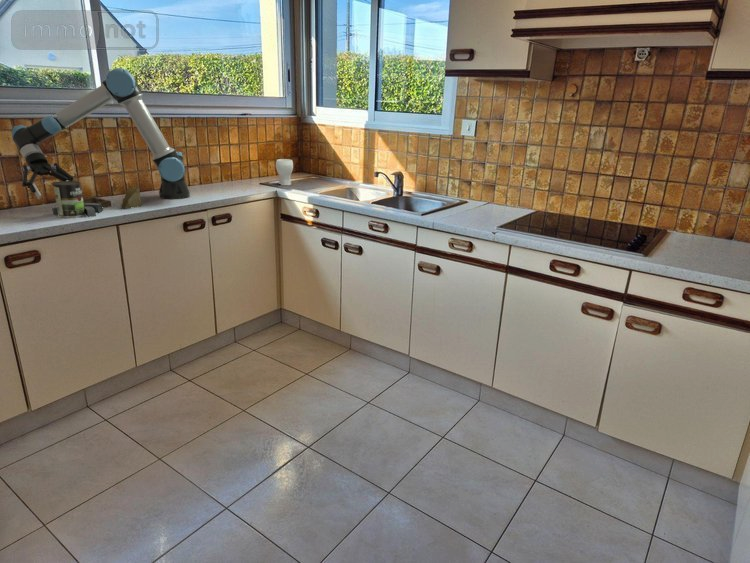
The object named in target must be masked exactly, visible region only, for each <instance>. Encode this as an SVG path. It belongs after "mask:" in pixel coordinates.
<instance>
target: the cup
mask: <svg viewBox="0 0 750 563" xmlns="http://www.w3.org/2000/svg"><path fill="white" fill-rule="evenodd" d="M275 169H276V172H277V174H278V185H279V184H281V185H280V186H291V185H292V180H291V176H292V172H293V171H294V162H293V160H292V159H290V158H289V159H288V158H287V159H286V158H279V159H276V161H275Z"/></svg>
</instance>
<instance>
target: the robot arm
mask: <svg viewBox="0 0 750 563" xmlns="http://www.w3.org/2000/svg"><path fill="white" fill-rule="evenodd" d="M100 84H101V85H100V86H98V87H96V88H95V89H93V90H92V91H89V92H88V93H87V94H85V95H84V96H82V97H80V98H78V99H77V100H75V101H73V102H72V103H70V104H68V105H67V106H65V107H63V108H62V109H60V110H58V111H57V112H55V113H56V115H57V116H58V118H56V119H54V118H53V117H52V115H48V116H46V117H43V118H42V119H40V120H38V121H36V122H34V123H33V124H31V125H29V126H26V125H23V124H19V125H15V126H13V127H14V128H13V127H12V128H13V130H12V137H11V138H13V139H12V141H13V142H14V143H15V145H16V147H17V149H18V150H19V153H20V154H21V156H22V157H23V159H24V160H25V162H26V164H27V165H28V166H27V165H25V164H24V165H23V166H22V172H23V175H22V184H21V186H22V187H26V188H28V189H29V190H30V191H31V193H34V195H35V196H36V197H37V200H39V201H40V200H42V197H43V195H42V194H41V192H40V190H39V189H38V186H36V183H35V180H36V178H37V177H38V176H41V177H43V176H48V175H49V177H54V178H55V179H58V180H60V181H61V182H62V181H74V176H73V175H71V174H70V173H68V172H67V171H66V170H65V169H63V168H62V167H61V166H60V165H59V164H58V163H57V162H54V163H53V164H50V163H49V161H48V159H47V158H46V156H45V154H44V153H43V151H42V149H41V147H39V143H41V142H44V141H45V140H47V139H49V138H51V137H53V136H57V135H58V134H57V133H58V132H60V131H61V130H63V129H65V128H66V129H68V128H69V127H71V126H73V125H74V124H76V123H77V122H79V121H81V120H83V119H84V118H86V117H87V116H90V115H91V114H92V113H94V112H96V111H98V110H99V109H101V108H102V107H104V106H105V105H107V104H109V103H110V102H112V101H115V102H117V103H118V105H119V106H120V105H121V106H123V107H124V108H125V110H126V112H127V114H128V115H129V117H130V118H131V120H132V122H133V123H134V125H135V127H136V128H137V130H138V132H139V133H140V135H141V137H142V139H143V141H144V142H145V144H146V145H147V147H148V148H149V150H150V152H151V154H152V158H151V160H152V161H153V163H154V165H155V166H156V168H157V171H158V174H159V175H160V181H161V182H160V187H159V191H158V197H159V198H160V199H167V200H175V199H176V200H177V199H185V198H186V199H187V198H189V197H190V196H191V192H190V190H189V187H188V185H187V183H186V179H185V178H186V176H185V172H186V167H185V165H184V156H183V153H182V152H181V151H176V149H175V148H174V147H170V145H169V143H168V142H167V140H166V138H165V136H164V135H163V133H162V131H161V130H160V128H159V126H158V125H157V123H156V121H155V119H154V117H153V116H152V114H151V113H150V111H149V109H148V107H147V106H146V103H145V102H144V101H143V95H144V93H143V92H142V90H141V89H140V86H139V85H138V83H137V81H136V78H135V76H134V75H133V74H132V73H131V72H130V71H128V70H127V69H124V68H120V67H116V68H113V69H112V70H110V71H108V72H107V74H106V76H105V80H103V81H102V82H101V83H100ZM67 127H68V128H67ZM66 129H65V130H66ZM63 131H64V130H63ZM61 132H62V131H61ZM61 132H60V133H61ZM56 134H57V135H56ZM29 171H31V172H33V174H32V175H31V177H30V179H29V180H28V176H29V175H28V173H29Z"/></svg>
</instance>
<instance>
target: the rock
mask: <svg viewBox="0 0 750 563" xmlns="http://www.w3.org/2000/svg"><path fill="white" fill-rule="evenodd" d="M140 195H141V191H140V188H139V187H138V186H137V185H136V186H131V187H130V188H128V189H126V192H125V195H124V198H123V200H122V201H121V202H122V203H121V206H120V209H123V210H128V209H127V208H129V209H132V208H131V207H134V208H138V207H141V206H142V204H141V203H142V201H141V198H140V197H141V196H140ZM137 206H138V207H137Z"/></svg>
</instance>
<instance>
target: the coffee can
mask: <svg viewBox="0 0 750 563" xmlns="http://www.w3.org/2000/svg"><path fill="white" fill-rule="evenodd" d="M52 187H53V191H54V198H55V204H56V206H57V210H58V215H57V216H58V218H61V219H75V218H76V217H77V218H82V217H85V216H86V214H85V209H84V202H83V199H84V198H83V191H82V182H80V181H74V180H73V181H62V180H61V181H55V182H53V183H52Z"/></svg>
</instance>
